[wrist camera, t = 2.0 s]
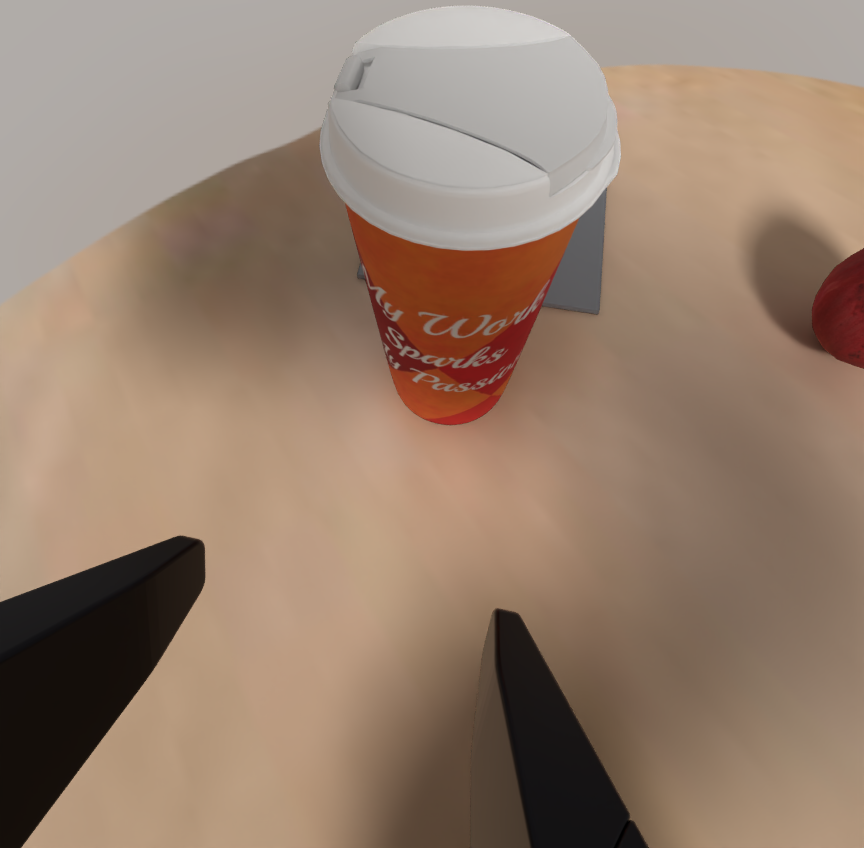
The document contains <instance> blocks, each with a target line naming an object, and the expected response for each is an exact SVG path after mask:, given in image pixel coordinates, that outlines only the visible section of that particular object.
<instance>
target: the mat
mask: <svg viewBox="0 0 864 848" xmlns="http://www.w3.org/2000/svg"><path fill="white" fill-rule="evenodd" d="M606 191H607V187H606V189H605V190H604V191H603V192H602V194H601V195H600V196H599V198H598V199H597V200H596V202H595V203H594V204H593V206H592V207H590V208H589V209H588V210H587V211H586V212H585V213H584V214H583V215H582V216H581V217H580V218H579V220H578V222H577V225H576V227H575V229H574V231H573V234H572V236H571V238H570V241H569V243H568V245H567V248H566V250H565V252H564V255H563V257H562V259H561V262H560V264H559V266H558V269H557V271H556V273H555V276H554V278H553V280H552V283H551V285H550V287H549V290H548V292H547V294H546V297H545V299H544V301H543V304H542V306H546V307H553V308H560V309H566V310H573V311H580V312H586V313H593V314H598V313H599V310H600V293H601V276H602V259H603V242H604V225H605V208H606ZM357 276H358V278H361V279H365V276H364V272H363V269H362V265H361V263H360V266H359V270H358V273H357Z"/></svg>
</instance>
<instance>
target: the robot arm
mask: <svg viewBox="0 0 864 848" xmlns="http://www.w3.org/2000/svg"><path fill="white" fill-rule="evenodd" d="M204 583H205V546H204V543H203V542H202V541H201V540H199V539H196V538H191V537H187V536H176V537H173V538H171V539H168V540H165V541H163V542H160V543H157V544H155V545H152V546H149V547H147V548H144V549H141V550H139V551H136V552H133V553H131V554H128V555H125V556H123V557H120V558H117V559H114V560H112V561H109V562H106V563H104V564H101V565H98V566H96V567H93V568H90V569H88V570H85V571H82V572H80V573H77V574H74V575H72V576H69V577H66V578H64V579H61V580H58V581H56V582H53V583H50V584H47V585H45V586H42V587H39V588H37V589H34V590H31V591H29V592H26V593H23V594H21V595H18V596H15V597H13V598H10V599H7V600H5V601H2V602H0V848H21V847H22V846H23V845H24V843H25V842H26V841H27V839H28V838H29V837H30V835H31V834H32V833H33V831H34V830H35V829H36V827H37V826H38V825H39V823H40V822H41V820H42V819H43V818H44V816H45V815H46V814H47V812H48V811H49V810H50V808H51V807H52V806H53V804H54V803H55V802H56V800H57V799H58V798H59V796H60V795H61V794H62V792H63V791H64V790H65V788H66V787H67V786H68V784H69V783H70V782H71V780H72V779H73V778H74V776H75V775H76V774H77V772H78V771H79V770H80V768H81V767H82V766H83V764H84V763H85V762H86V760H87V759H88V758H89V756H90V755H91V753H92V752H93V751H94V749H95V748H96V747H97V745H98V744H99V743H100V741H101V740H102V739H103V737H104V736H105V735H106V733H107V732H108V731H109V729H110V728H111V727H112V725H113V724H114V723H115V721H116V720H117V719H118V717H119V716H120V715H121V713H122V712H123V711H124V709H125V708H126V707H127V705H128V704H129V703H130V701H131V700H132V699H133V697H134V696H135V695H136V693H137V692H138V691H139V689H140V688H141V687H142V685H143V684H144V682H145V681H146V680H147V678H148V677H149V675H150V674H151V673H152V671H153V670H154V668H155V667H156V665H157V663H158V662H159V660H160V659H161V657H162V655H163V654H164V652H165V651H166V649H167V647H168V646H169V644H170V642H171V641H172V639H173V637H174V636H175V634H176V632H177V631H178V629H179V627H180V626H181V624H182V622H183V621H184V619H185V618H186V616H187V614H188V613H189V611H190V609H191V608H192V606H193V604H194V603H195V601H196V599H197V598H198V596H199V594H200V593H201V591H202V589H203V586H204ZM629 819H630V813H629V812H628V810H627V808H626V806H625V804H624V803H623V801H622V799H621V797H620V795H619V794H618V792H617V790H616V788H615V786H614V785H613V783H612V781H611V779H610V777H609V775H608V774H607V772H606V770H605V768H604V766H603V765H602V763H601V761H600V759H599V757H598V756H597V754H596V752H595V750H594V748H593V747H592V745H591V743H590V741H589V739H588V738H587V736H586V734H585V732H584V730H583V728H582V727H581V725H580V723H579V721H578V719H577V718H576V716H575V714H574V712H573V710H572V709H571V707H570V705H569V703H568V701H567V700H566V698H565V696H564V694H563V692H562V691H561V689H560V687H559V685H558V683H557V682H556V680H555V678H554V676H553V674H552V672H551V671H550V669H549V667H548V665H547V663H546V662H545V660H544V658H543V656H542V654H541V653H540V651H539V649H538V647H537V645H536V644H535V642H534V640H533V638H532V636H531V635H530V633H529V631H528V629H527V627H526V625H525V624H524V622H523V620H522V618H521V617H520V615H519V614H518V613H516V612H512V611H508V610H503V609H499V608H497V609H495V610H494V611H493V613H492V617H491V620H490V624H489V628H488V632H487V636H486V640H485V644H484V648H483V654H482V661H481V670H480V678H479V687H478V695H477V703H476V712H475V720H474V729H473V738H472V749H471V793H470V848H649V847H648V846H647V844H646V842H645V840H644V838H643V837H642V835H641V833H640V831H639V829H638V827H637V826H636V824H635V822H634V821H632V820H630V821H629Z"/></svg>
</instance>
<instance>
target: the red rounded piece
mask: <svg viewBox="0 0 864 848" xmlns="http://www.w3.org/2000/svg"><path fill="white" fill-rule="evenodd" d="M812 327H813V330H814V332H815V335H816V337H817V338H818V340H819V342H820V343H821V345H822V347H823V348H824V349H825V350H826V351H827V352H829V353H830V354H831V355H833V356H834V357H835V358H836V359H838V360H840V361H843V362H846V363H849V364H851V365H854V366H857V367H860V368H863V369H864V248H863V249H862V250H860V251H858V252H856V253H855V254H853V255H851V256H850V257H848V258H847V259H846V260H844V261H843V262H841V263H840V264H839V265H837V266H836V267H835V268H834V269H833V270H832V272H831V273H830V274H829V276H828V277H827V278H826V279H825V281H824V282H823V284H822V286H821V288H820V289H819V291H818V293H817V295H816V297H815V300H814V304H813V308H812Z"/></svg>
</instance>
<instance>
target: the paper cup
mask: <svg viewBox="0 0 864 848" xmlns="http://www.w3.org/2000/svg"><path fill="white" fill-rule="evenodd" d="M334 89H335V90H334V92H333V95H332V98H331V101H329V103H328V109H327V112H326V115H325V118H324V122H323V125H322V128H321V134H320V145H319V146H320V153H321V160H322V165H323V167H324V170H325V173H326V175H327V178H328V180H329V182H330V184H331V185H332V187H333V188H334V190H335V191H336V193H337V194H338V196H339V197H340V198H341V199H342V200H343V201H344V202H345V205H346V208H347V212H348V216H349V220H350V223H351V227H352V231H353V235H354V238H355V242H356V246H357V250H358V253H359V257H360V261H361V265H362V269H363V272H364V276H365V280H366V284H367V287H368V291H369V295H370V299H371V303H372V306H373V310H374V314H375V317H376V321H377V325H378V329H379V332H380V336H381V340H382V343H383V347H384V350H385V354H386V358H387V361H388V365H389V368H390V372H391V375H392V378H393V381H394V384H395V387H396V389H397V392H398V394H399V396H400V398H401V399H402V401H403V402H404V403H405V405H406V406H407V407H408V408H409V409H410V410H411V411H412V412H414V413H415V414H416V415H418V416H420V417H421V418H423V419H425V420H428V421H430V422H434V423H438V424H444V425H457V424H463V423H467V422H471V421H473V420H476V419H478V418H480V417H481V416H483V415H484V414H486V413H487V412H488V411H489V410H490V409H492V407H493V406H494V405H495V404H496V403H497V401H498V400H499V398H500V397H501V395H502V393H503V391H504V389H505V387H506V385H507V383H508V381H509V379H510V377H511V375H512V372H513V370H514V368H515V366H516V363H517V361H518V359H519V357H520V354H521V352H522V350H523V348H524V345H525V343H526V341H527V338H528V336H529V334H530V331H531V329H532V327H533V325H534V322H535V320H536V318H537V315H538V313H539V311H540V308H541V306H542V304H543V301H544V299H545V297H546V294H547V292H548V290H549V287H550V285H551V283H552V280H553V278H554V276H555V273H556V271H557V269H558V266H559V264H560V262H561V259H562V257H563V255H564V252H565V250H566V248H567V245H568V243H569V241H570V238H571V236H572V234H573V231H574V229H575V227H576V225H577V222H578V220H579V218H580V217H581V216H582V215H583V214H584V213H585V212H586V211H587V210H588V209H589V208H590V207H592V206H593V204H594V203H595V202H596V200H597V199H598V198H599V196H600V195H601V194H602V192H603V191H604V190H605V189H606V187H607V186H608V185H609V184H610V183H611V182H612V180H613V179H614V178H615V177H616V176H617V173H618V168H619V163H620V158H621V151H620V139H619V135H618V131H617V112H616V109H615V105H614V104H613V102H612V100H611V98H610V96H609V95H608V88H607V84H606V80H605V76H604V74H603V72H602V71H601V69H600V67H599V65H598V63H597V62H596V61H595V60H594V59H593V58H592V57H591V55H590V54H589V53H588V52H587V51H586V50H585V49H584V48H583V47H582V46H581V45H580V44H579V43H578V42H577V41H576V40H575V39H574V38H573V37H572V36H570V34H568V33H567V32H565V31H564V30H562V29H560V28H558V27H556V26H554V25H552V24H550V23H548V22H546V21H543V20H540V19H538V18H535V17H533V16H530V15H527V14H522V13H519V12H515V11H512V10H506V9H500V8H494V7H483V6H449V7H439V8H431V9H427V10H422V11H417V12H413V13H410V14H407V15H404V16H400V17H398V18H395V19H393V20H390V21H388V22H386V23H384V24H381V25H380V26H378V27H376V28H375V29H373V30H371V31H370V32H368V33H366V34H365V35H364V36H363V37H361V38H360V39H359V40H358V41H356V42H355V45H354V47H353V50H352V56H350V57H348V58H347V59H346V61H345V63H344V65H343V68H342V70H341V72H340V74H339V77H338V79H337V81H336V83H335V86H334Z"/></svg>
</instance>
